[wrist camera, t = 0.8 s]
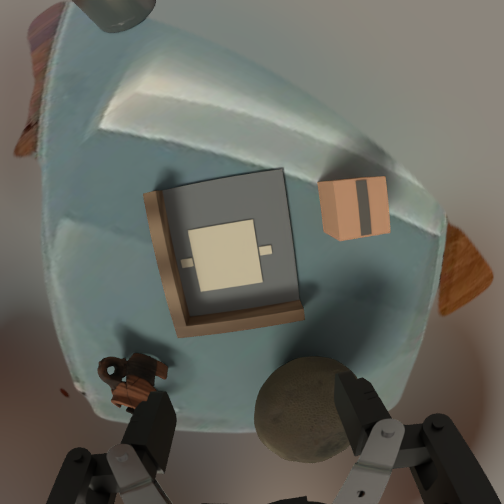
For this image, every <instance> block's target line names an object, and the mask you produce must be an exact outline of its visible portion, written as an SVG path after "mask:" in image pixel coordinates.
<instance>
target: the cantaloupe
mask: <svg viewBox="0 0 504 504" xmlns="http://www.w3.org/2000/svg"><path fill="white" fill-rule="evenodd" d="M349 370H350V369H348V368H347V367H346V366H345V365H343V364H341V363H340V362H338V361H336V360H334V359H331V358H326V357H319V356H310V357H301V358H297V359H294V360H292V361H290V362H288V363H287V364H285V365H283V366H281V367H279V368H278V369H277V370H275V371H274V372H273V373H272V374H271V375H270V376H269V378H268V379H267V380H266V382H265V383H264V384H263V386H262V387H261V389H260V391H259V394H258V396H257V400H256V404H255V413H254V424H255V428H256V432H257V434H258V437H259V439H260V440H261V441H262V443H263V444H264V445H265V446H266V447H267V448H268V449H270V450H271V451H272V452H274V453H275V454H277V455H278V456H279V457H281V458H283V459H285V460H288V461H297V462H303V463H316V462H321V461H325V460H327V459H329V458H331V457H333V456H335V455H337V454H338V453H340V452H342V451H344V450H345V449H346V448H347V447H348V446H349V445H350V443H349V440H348V438H347V435H346V432H345V430H344V427H343V425H342V422H341V420H340V417H339V415H338V412H337V410H336V407H335V403H334V384H335V374H336V373H340V372H344V371H349ZM353 374H354V373H353ZM354 376H355V374H354ZM355 378H356V379H357V377H356V376H355Z"/></svg>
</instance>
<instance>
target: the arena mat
mask: <svg viewBox="0 0 504 504" xmlns="http://www.w3.org/2000/svg"><path fill="white" fill-rule="evenodd" d="M162 191H163V197H164V202H165V208H166V213H167V218H168V224H169V229H170V234H171V238H172V243H173V248H174V252H175V257H176V261H177V266H178V270H179V274H180V279H181V283H182V287H183V291H184V295H185V299H186V303H187V307H188V311H189V314H190V316H198V315H206V314H213V313H220V312H228V311H234V310H241V309H248V308H254V307H260V306H266V305H273V304H278V303H284V302H290V301H296V300H299V291H298V282H297V273H296V265H295V257H294V249H293V241H292V233H291V226H290V219H289V212H288V205H287V198H286V191H285V185H284V178H283V172H282V169H280V170H272V171H265V172H258V173H252V174H246V175H239V176H233V177H227V178H222V179H216V180H211V181H205V182H200V183H195V184H190V185H185V186H180V187H176V188H171V189H166V190H162Z"/></svg>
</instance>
